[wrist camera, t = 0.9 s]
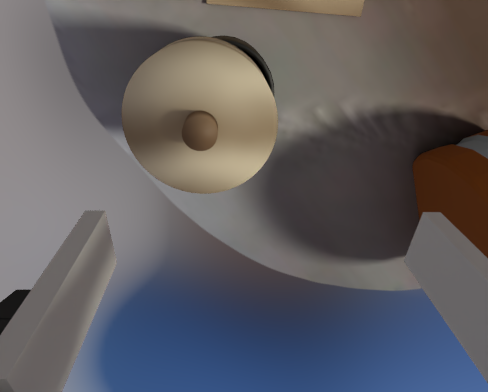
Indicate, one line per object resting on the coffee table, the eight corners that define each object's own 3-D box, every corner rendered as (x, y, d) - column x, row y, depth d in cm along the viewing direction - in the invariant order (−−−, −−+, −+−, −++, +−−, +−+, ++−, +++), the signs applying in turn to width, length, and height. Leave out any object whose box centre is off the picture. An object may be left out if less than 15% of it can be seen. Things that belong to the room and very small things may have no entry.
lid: (128, 30, 23) (103, 36, 18) (279, 42, 24) (292, 52, 19) (141, 167, 28) (125, 200, 24) (263, 174, 29) (270, 206, 25)
